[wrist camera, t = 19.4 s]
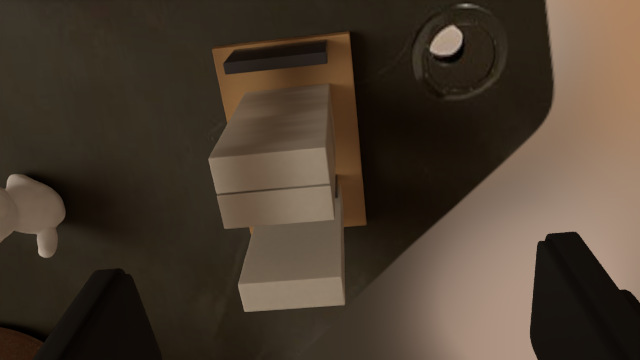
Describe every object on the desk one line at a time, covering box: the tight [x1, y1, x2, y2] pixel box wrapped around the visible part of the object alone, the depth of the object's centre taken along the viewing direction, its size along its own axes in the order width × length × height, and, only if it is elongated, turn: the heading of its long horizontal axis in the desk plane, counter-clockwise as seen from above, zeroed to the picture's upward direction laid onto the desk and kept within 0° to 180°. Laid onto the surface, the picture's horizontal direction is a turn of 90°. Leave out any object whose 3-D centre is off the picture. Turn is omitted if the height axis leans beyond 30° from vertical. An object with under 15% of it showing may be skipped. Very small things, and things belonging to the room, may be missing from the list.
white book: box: [238, 185, 345, 312], centre depth 36 cm, size 6×2×12 cm, turn 97°
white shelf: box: [208, 31, 366, 234], centre depth 35 cm, size 10×16×13 cm, turn 7°
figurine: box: [0, 174, 66, 258], centre depth 40 cm, size 5×8×8 cm
